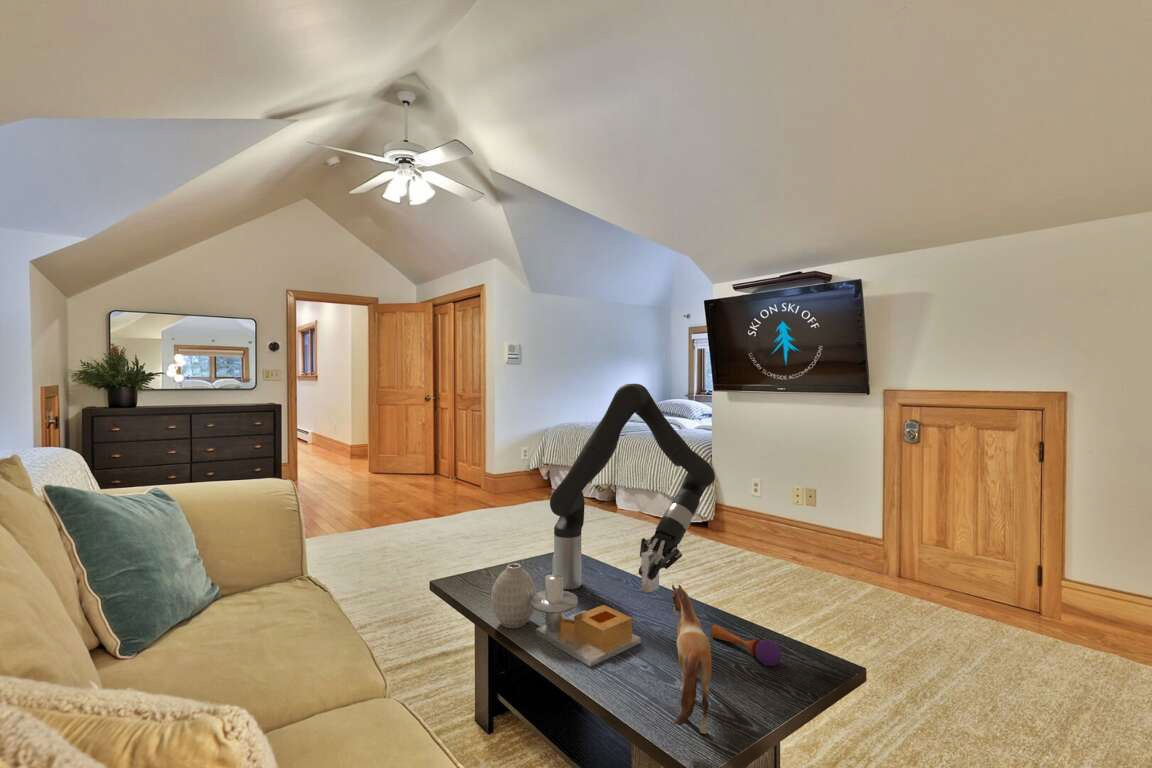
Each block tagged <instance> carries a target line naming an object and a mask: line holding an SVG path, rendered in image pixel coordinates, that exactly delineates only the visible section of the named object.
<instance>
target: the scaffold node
mask: <svg viewBox="0 0 1152 768" xmlns="http://www.w3.org/2000/svg"><path fill="white" fill-rule="evenodd" d="M544 579H545V581H544V582H545V583H544V584H545V590H542V591H538V592H536V594H534V595H533V596H532V597H531V599H530V605H531V607H532V608H534V609H535V610H534V611H538V612H541V613H545V616H544V618H545V619H544V620H545V623H544V625H542V626H540V627H536V628H535V635H536V636H538V637H540V638H541V637H542V638H541V639H543V638H544V639H543V640H545V639H546V640H547V641H546V640H545V641H546V642H548V641H549V642H548V643H549V644H551V643H552V644H551V645H553V646H555V647H556V648H557V649H559V650H561V651H562V652H565V653H566V654H568V655H569V656H571V657H573V658H574V659H576V660H578V661H579V662H581V663H583V664H584V665H586V666H588V667H589V668H591V667H593V666H596V665H597V664H600V663H601V662H604V661H606V660H607V659H610V658H613V657H614V656H616V655H618V654H620V653H622V652H625V651H627V650H629V649H631V648H634V647H635V646H637V645H641V637H640V636H638V635H636V634H634V633H633V617H632V616H629V615H626V614H625V613H622V612H620V611H618V610H616V609H614V608H611V607H609V606H607V605H606V604H602V605H599V606H597V607H594V608H591V609H589V610H585V609H584V610H581V611H580V612H577V613H574V614H571V615H569V616H568V615H567V616H565V617H564V613H567V612H569V611H572V610H574V609H575V608H576V607H577V606H579V605H578V603H579V598H578V596H577V595H576V594H575V593H573V592H570V591H568V590H564V589H563V576H561V575H558V574H552V573H551V574H547V575H546V576H545V578H544Z"/></svg>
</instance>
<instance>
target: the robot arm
mask: <svg viewBox="0 0 1152 768" xmlns="http://www.w3.org/2000/svg"><path fill="white" fill-rule="evenodd" d="M634 414H635V415H637V416H638V417H639V418H640V419H641V420H642V421H643V423H645V424H646V426H647V427H648V428H649V430H650V431H651V433H652V436H653V438H654V439H655V442H656V444H657V445H658V447H659V448H660V450H661V451H662V452H663V454H664V455H665V456H666V457H667V458H668V459H669V461H670V462H671V463H672V464H673V465H674V466H675V467H679V468H680V467H682V469H684V471H686V472H687V473H686V475H685V476H684V478H683V481H682V482H681V485H680V487H679V490H678V491H677V493H676V494H675V496H674V498H673V500H672V501H671V502H670V503H671V504H670V505H669V506H668V507H667V509H666V511H665V512H664V513H663V514H662V517H661V519H660V520H659V523H658V524H657V526H656V528H655V531H654V532H655V533H654V534H653V535H652V536H651V537H650V538H649V539H646V538H644V537H643V538H642V539H641V542H640V549H639V557H640V558H641V556H642V553H644V552H647V551H650V550H655V551H658V553H657V558H656V560H655V562H654V563H655V564H653V565H652V567H651V569H650V571H649V573H648V574H647V577H648V578H649V579H650V580H653V579H654V578H655V577H656V575H657V574H658V572H659V573H660V570H661V569H665V570H668V569H669V568H670V567H672V566H673V565H674V564H675V563H676V562H677V561H679V560H680V558H682V556H683V554H682V552H681V550H679V548H678V545H680V543H681V542H682V540H683V537H684V535H685V534H686V532H687V530H688V528H689V527H690V525H691V522H692V520H693V517H694V516H695V513H696V511H697V510H698V507H699V506H700V502H701V501H700V499H701V498H702V496H703V494H704V492H705V491H706V489H708V487H710V485H711V484H714V481H715V478H716V474H715V471H714V469H713V467H712V465H711V464H710V463H709V462H708V461H707V460H705V458H703V457H702V456H700V455H699V454H698V453H697V452H695V451H694V450H693V449H692V448H691V447H690V445H688V444H687V443H686V440H684V439H683V438H682V436H681V435H680V434H679V433H678V432H677V431H676V430H675V428H674V427H673V426H672V425H671V424H670V422H669V421H668V419H667V418H666V417H665V415H664V414H663V412H662V411H661V409H660V408H659V406H658V405H657V404H656V401H655V400H654V398H653V397H652V395H651V393H650V392H649V390H648V389H647V387H645V386H644V385H643V384H639V383H625V384H623V385H621V386H620V387H619V388H618V389H617V390H616V392H615V393H614V396H613V397H612V400H611V401H610V404H609V405H608V408H607V410H606V412H605V413H604V415H603V417H602V418H601V420H600V421H599V423H598V424H597V426H596V427H595V429H594V430H593V432H592V434H591V435H590V436H589V438H588V439H587V441H586V442H585V444H584V446H583V447H582V449H581V450H580V453H579V454H578V456H577V457H576V459H575V461H574V463H573V464H572V466H571V468H570V470H569V471H568V473H567V474H566V476H565V477H564V478H563V479H562V481H561V482H560V483H559V485H557V487H556V488H555V489H554V491H553V492H552V494H551V495H550V498H549V507H550V510H551V512H552V513H553V514H554V515H555V516H557V517H559V518H558V520H557V521H556V523H555V525H554V527H553V555H552V561H551V562H552V565H551V566H552V567H551V568H552V570H551V571H552V572H551V574H558V575H561V576H563V590H564V589H565V590H564V591H568V590H569V589H571V590H576V589H579V588H580V587H581V586H582V531H583V527H584V523H585V522H584V521H585V495H584V492H583V491H584V489H585V488H586V487H587V485H588V484H589V483H590V482H592V481H593V479H595V477H597V476H598V475H599V474H600V473H601V472H602V470H603V469H605V467H606V466H607V464H608V462H609V461H610V459H612V456H613V455H614V453H615V451H616V449H617V446H618V442H619V440H620V435H621V433H622V431H623V429H624V428H625V426H626V425H627V423H628V421H629V420H630V419H631V417H633V416H634ZM638 575H640V576H641V575H642V570H641V565H640V566H639V568H638ZM566 589H567V590H566Z"/></svg>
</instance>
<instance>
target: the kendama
mask: <svg viewBox="0 0 1152 768" xmlns="http://www.w3.org/2000/svg"><path fill="white" fill-rule="evenodd" d="M709 631H710V632H709V633H710V637H712V638H713V639H717V640H721V641H726V642H728V643H733V644H737V645H741V646H744V647H745V648H746V649H747V650H748V651H749V652H750V653H751V655H753V657H755V658H757V660H758V661H759V662H760V663H761V664H762V665H764V666H766V667H775V666H777V665H778V664H779V663H780V662H781V660H782V650H781V648H780V645H779V644H777V643H776V642H775V641H774V640H771V639H767V638H766V639H762V640H760V639H752V640H751V639H750V640H744V639H743V638H741V637H739V636H737V635H736V634H733V633H731V632H729V631H728V630H726V629H724V628H722V627H720V626H718V625H717V624H714V625H712V626H711V627H710V630H709Z"/></svg>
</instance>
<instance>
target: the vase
mask: <svg viewBox="0 0 1152 768" xmlns="http://www.w3.org/2000/svg"><path fill="white" fill-rule="evenodd" d="M536 593H537V587H536V585H535V582H534V580H533V578H532V576H530V574H529V573H528V572H527V571H526V570H525V569H523V568H522V565H521V564H519V563H509V564H508V565H507V566H506V568H505V569H504V570H503V571H502V572H501V573H500V574H499V575H498V577H497V578H496V579H495V581H494V584H493V586H492V590H491V596H490V597H491V598H490V600H491V602H490V603H491V609H492V612H493V613H494V617H495V618H496V619H497V621H498V622H499V623H500V624H501V625H502V626H503V627H504V628H506V629H510V628H512V630H514V628H515V629H520V628H522V627H523V626H525V625H526V624H527V623H528V622H529V621H530V620H531V618H532V616H533V615H534V612H535V611H536V610H535V609H534V608H532V607H531V605H530V599H531V597H532V596H533V595H534V594H536Z"/></svg>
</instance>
